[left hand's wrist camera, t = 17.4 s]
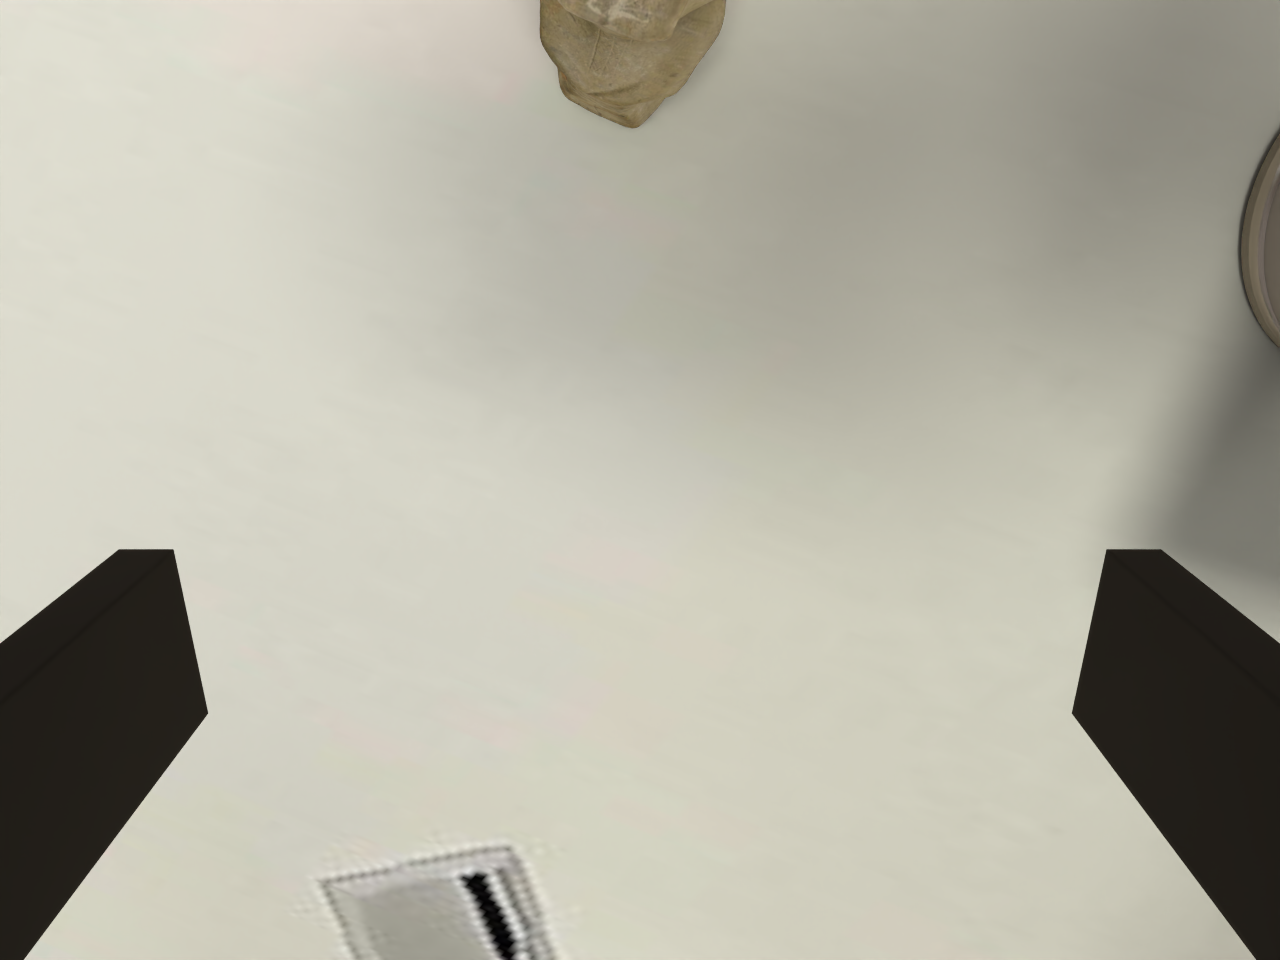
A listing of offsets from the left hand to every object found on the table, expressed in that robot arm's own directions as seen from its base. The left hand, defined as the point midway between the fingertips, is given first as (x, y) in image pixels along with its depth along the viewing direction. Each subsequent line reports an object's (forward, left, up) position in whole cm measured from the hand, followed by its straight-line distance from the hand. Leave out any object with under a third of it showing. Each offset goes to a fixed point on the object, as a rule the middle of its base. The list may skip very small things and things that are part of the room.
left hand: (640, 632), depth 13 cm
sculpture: (-3, -10, -29) cm, 31 cm away
